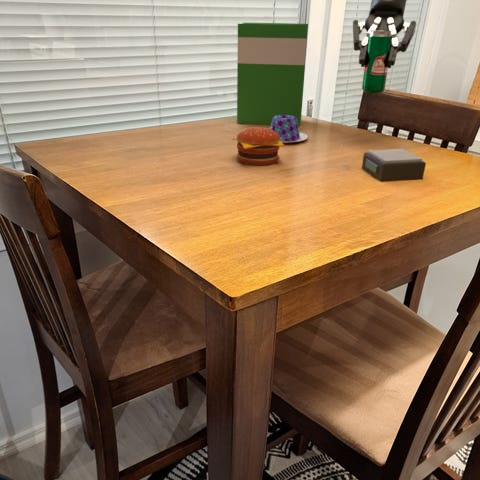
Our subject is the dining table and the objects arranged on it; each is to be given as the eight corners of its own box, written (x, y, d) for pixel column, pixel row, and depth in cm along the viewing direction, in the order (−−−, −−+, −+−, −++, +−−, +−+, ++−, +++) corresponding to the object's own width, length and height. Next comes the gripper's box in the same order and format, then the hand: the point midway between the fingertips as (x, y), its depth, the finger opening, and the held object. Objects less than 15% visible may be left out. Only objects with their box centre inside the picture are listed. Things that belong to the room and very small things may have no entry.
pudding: (270, 131, 131) (271, 110, 128) (313, 136, 126) (315, 114, 123) (251, 141, 121) (252, 118, 119) (298, 147, 117) (299, 124, 114)
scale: (401, 166, 105) (404, 147, 103) (422, 179, 98) (426, 159, 96) (360, 168, 103) (362, 149, 101) (379, 181, 96) (382, 161, 94)
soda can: (370, 94, 110) (378, 31, 103) (357, 90, 113) (364, 30, 107) (389, 92, 111) (398, 30, 105) (375, 89, 115) (383, 29, 108)
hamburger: (245, 167, 103) (245, 134, 99) (230, 156, 110) (230, 124, 107) (286, 163, 105) (288, 131, 102) (269, 152, 113) (271, 122, 109)
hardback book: (300, 120, 143) (308, 23, 130) (300, 125, 137) (307, 24, 124) (240, 117, 145) (241, 22, 132) (237, 123, 139) (237, 23, 126)
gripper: (356, -16, 109) (342, 51, 106) (425, -16, 105) (412, 53, 102) (356, 12, 116) (343, 75, 113) (420, 12, 112) (408, 78, 109)
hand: (376, 64), depth 108 cm, fingers closed on soda can, 5 cm apart
